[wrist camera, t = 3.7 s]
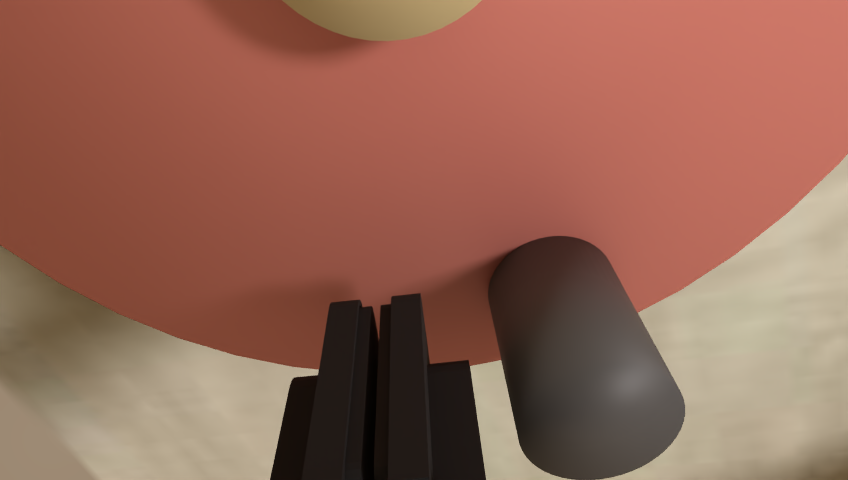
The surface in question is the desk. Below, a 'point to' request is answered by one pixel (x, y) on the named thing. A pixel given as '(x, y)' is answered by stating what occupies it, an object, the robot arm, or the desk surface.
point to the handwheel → (421, 176)
